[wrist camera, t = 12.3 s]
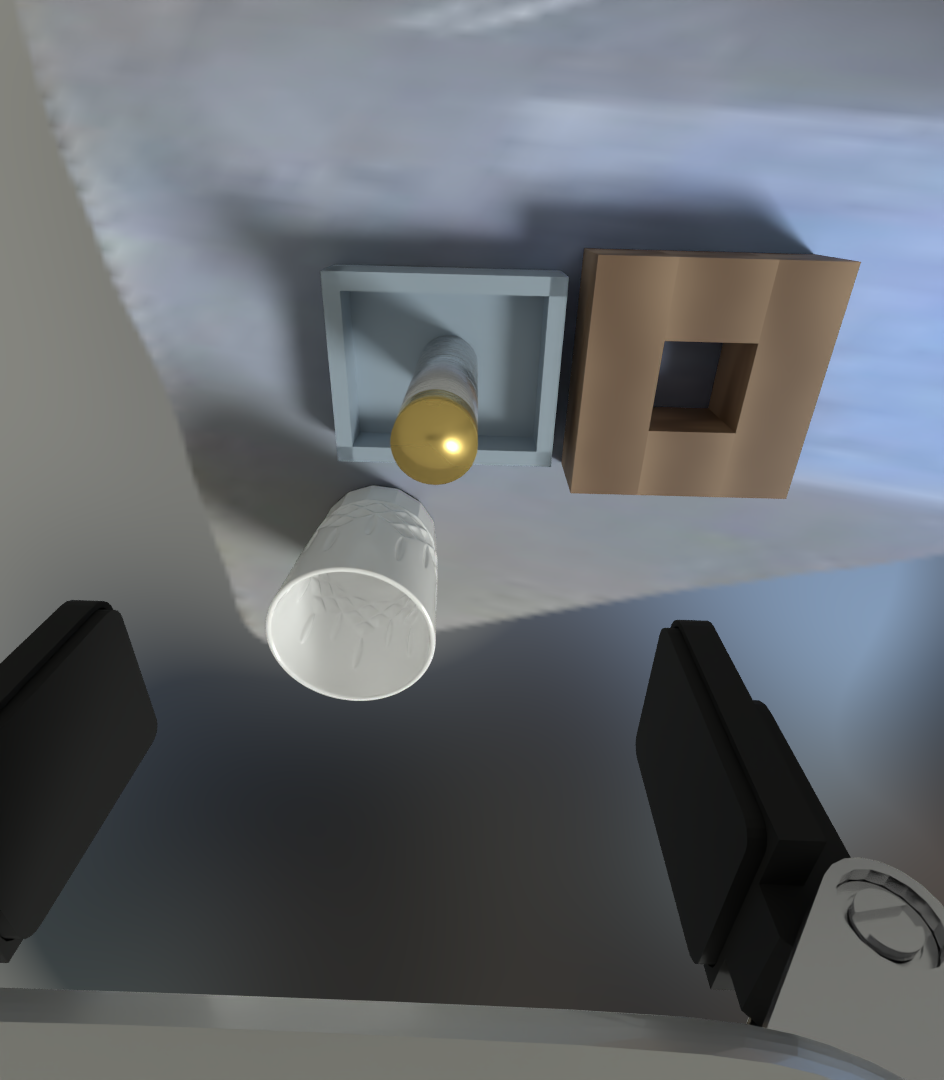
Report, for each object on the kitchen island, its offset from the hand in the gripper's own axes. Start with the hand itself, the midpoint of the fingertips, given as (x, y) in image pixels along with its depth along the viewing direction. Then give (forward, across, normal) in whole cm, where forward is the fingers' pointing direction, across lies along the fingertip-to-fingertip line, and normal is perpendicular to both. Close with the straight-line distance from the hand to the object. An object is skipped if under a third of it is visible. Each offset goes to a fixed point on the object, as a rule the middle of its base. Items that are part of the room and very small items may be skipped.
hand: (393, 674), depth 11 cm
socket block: (+24, -12, 0) cm, 26 cm away
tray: (+24, 0, 0) cm, 24 cm away
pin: (+23, 0, 0) cm, 23 cm away
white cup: (+24, +4, +11) cm, 26 cm away
